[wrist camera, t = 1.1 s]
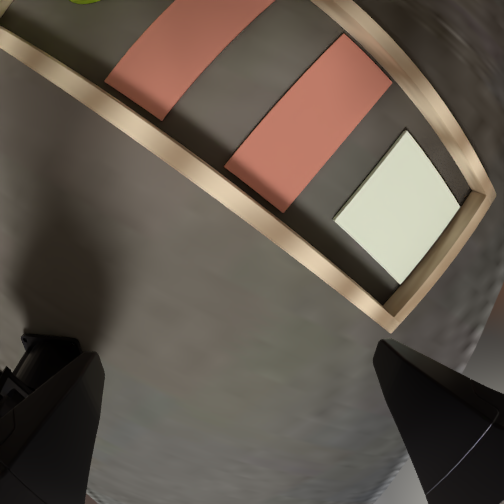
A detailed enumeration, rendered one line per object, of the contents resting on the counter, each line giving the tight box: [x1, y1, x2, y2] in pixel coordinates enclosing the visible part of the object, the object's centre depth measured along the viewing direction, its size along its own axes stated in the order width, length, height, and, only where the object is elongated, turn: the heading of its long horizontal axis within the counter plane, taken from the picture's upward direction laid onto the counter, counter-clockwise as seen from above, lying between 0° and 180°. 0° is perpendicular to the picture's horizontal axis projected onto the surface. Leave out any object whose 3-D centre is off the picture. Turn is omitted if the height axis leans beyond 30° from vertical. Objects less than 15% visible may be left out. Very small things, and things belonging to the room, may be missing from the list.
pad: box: [333, 131, 460, 284], centre depth 22 cm, size 9×9×1 cm
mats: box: [104, 0, 392, 213], centre depth 17 cm, size 15×13×1 cm
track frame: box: [0, 0, 496, 333], centre depth 16 cm, size 44×16×2 cm, turn 51°
